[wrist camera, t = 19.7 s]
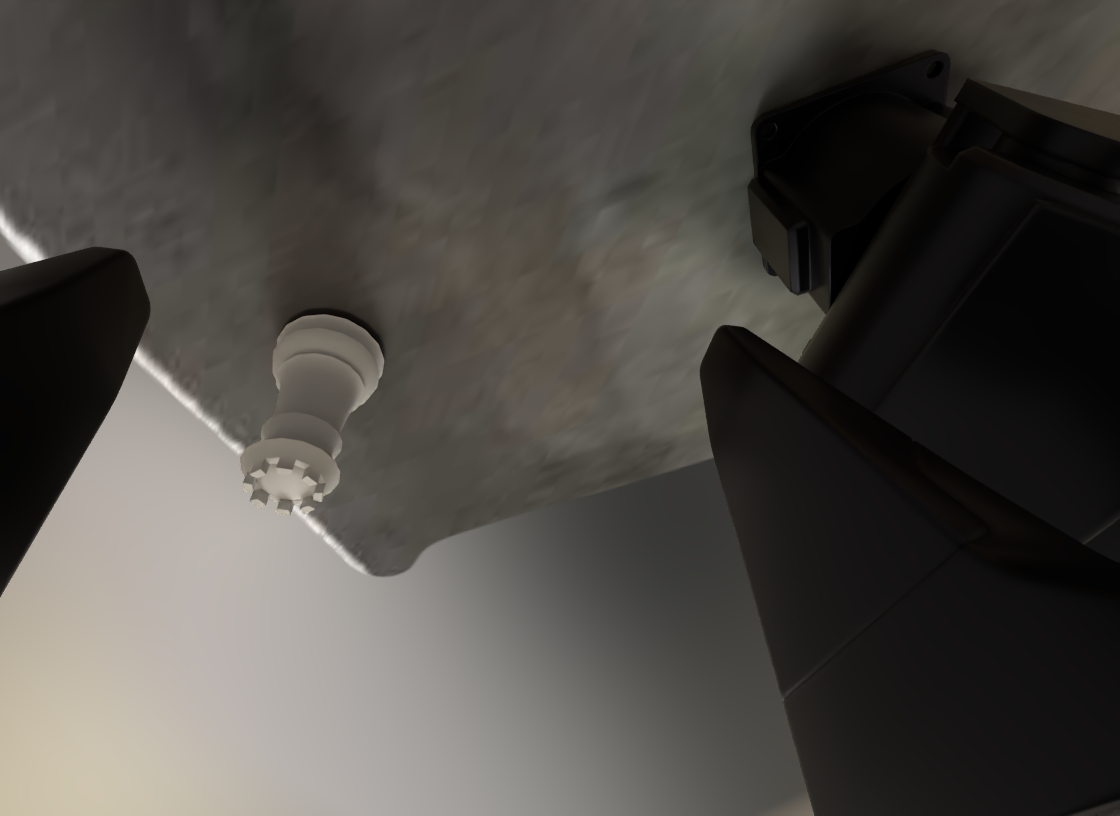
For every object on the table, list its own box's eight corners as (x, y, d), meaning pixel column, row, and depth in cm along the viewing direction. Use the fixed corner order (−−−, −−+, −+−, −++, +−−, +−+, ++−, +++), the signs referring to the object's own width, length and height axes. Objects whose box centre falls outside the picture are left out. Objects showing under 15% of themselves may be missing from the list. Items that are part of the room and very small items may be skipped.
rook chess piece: (315, 398, 26) (263, 542, 20) (257, 323, 23) (177, 466, 18) (403, 375, 26) (375, 515, 20) (355, 295, 23) (307, 432, 17)
